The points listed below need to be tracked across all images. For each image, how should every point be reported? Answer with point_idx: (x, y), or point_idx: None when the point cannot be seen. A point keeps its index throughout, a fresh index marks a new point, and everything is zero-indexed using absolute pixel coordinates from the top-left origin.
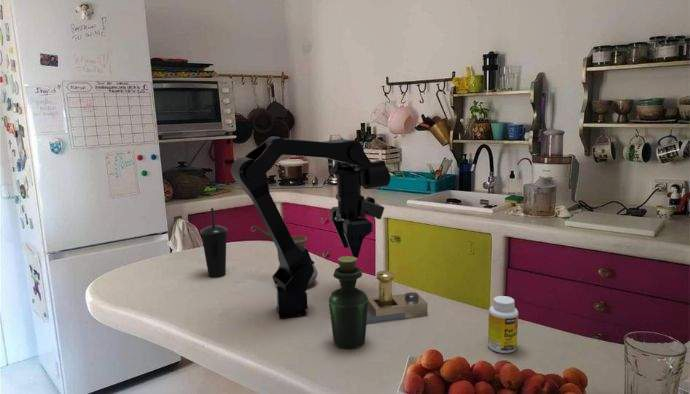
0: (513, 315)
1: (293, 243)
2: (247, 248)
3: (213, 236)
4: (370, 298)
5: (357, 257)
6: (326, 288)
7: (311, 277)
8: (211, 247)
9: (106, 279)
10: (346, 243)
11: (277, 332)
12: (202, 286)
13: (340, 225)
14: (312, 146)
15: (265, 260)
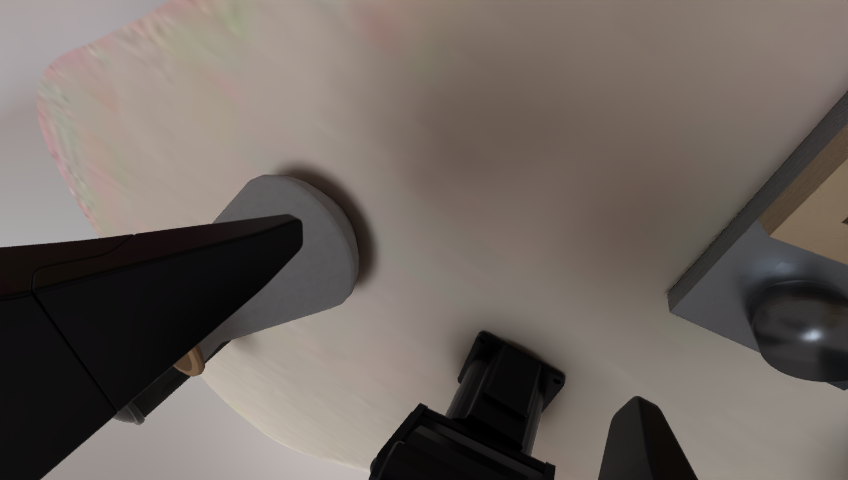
0: None
1: None
2: (90, 176)
3: (146, 409)
4: (797, 220)
5: (658, 414)
6: (389, 183)
7: (342, 241)
8: (178, 386)
9: (232, 404)
10: (270, 249)
11: None
12: (281, 363)
13: (38, 422)
14: None
15: (155, 189)
